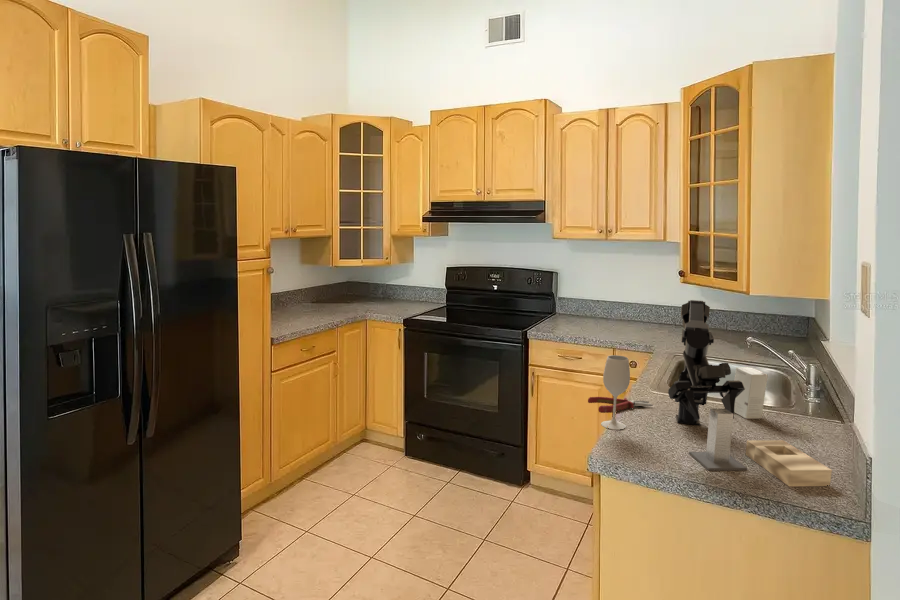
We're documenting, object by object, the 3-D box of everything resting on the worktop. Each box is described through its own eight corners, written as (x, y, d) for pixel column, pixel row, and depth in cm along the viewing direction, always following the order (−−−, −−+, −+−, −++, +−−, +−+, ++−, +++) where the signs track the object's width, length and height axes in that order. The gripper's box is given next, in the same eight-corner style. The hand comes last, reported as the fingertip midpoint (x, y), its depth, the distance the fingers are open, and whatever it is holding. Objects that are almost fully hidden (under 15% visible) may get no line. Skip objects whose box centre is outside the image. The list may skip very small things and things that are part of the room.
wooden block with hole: (745, 454, 152) (747, 440, 151) (781, 454, 153) (783, 440, 152) (789, 486, 134) (791, 470, 134) (829, 486, 135) (831, 470, 134)
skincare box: (729, 410, 187) (733, 366, 185) (746, 409, 188) (750, 366, 186) (746, 419, 179) (751, 373, 177) (763, 418, 180) (768, 373, 178)
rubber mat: (689, 453, 152) (689, 451, 152) (725, 453, 152) (725, 451, 152) (708, 470, 142) (708, 468, 142) (746, 470, 143) (747, 467, 142)
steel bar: (705, 456, 149) (710, 408, 147) (720, 456, 149) (725, 408, 147) (713, 462, 145) (718, 413, 143) (728, 462, 145) (733, 413, 143)
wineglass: (600, 419, 176) (604, 353, 173) (626, 422, 174) (631, 355, 171) (599, 428, 169) (604, 359, 166) (626, 431, 167) (631, 361, 164)
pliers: (658, 412, 185) (659, 405, 185) (599, 414, 182) (600, 406, 182) (642, 401, 196) (643, 394, 196) (586, 403, 194) (587, 396, 193)
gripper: (676, 351, 150) (693, 405, 141) (744, 351, 152) (765, 405, 143) (661, 372, 159) (676, 424, 150) (725, 371, 161) (744, 423, 152)
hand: (715, 419), depth 148 cm, fingers open, 9 cm apart
